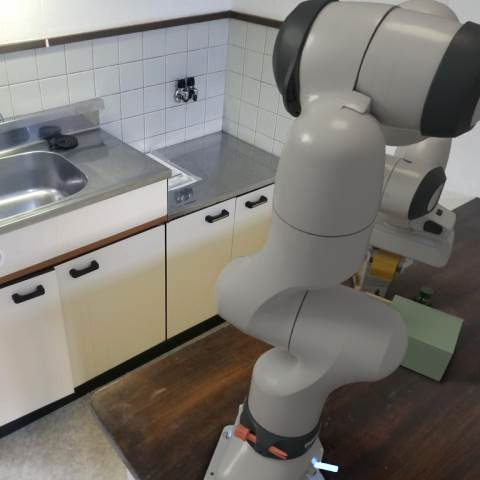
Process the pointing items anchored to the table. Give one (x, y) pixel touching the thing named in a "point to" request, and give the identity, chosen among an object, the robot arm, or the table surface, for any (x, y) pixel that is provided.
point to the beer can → (424, 295)
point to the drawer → (375, 296)
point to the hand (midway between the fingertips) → (385, 266)
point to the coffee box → (370, 279)
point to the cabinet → (427, 337)
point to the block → (385, 264)
